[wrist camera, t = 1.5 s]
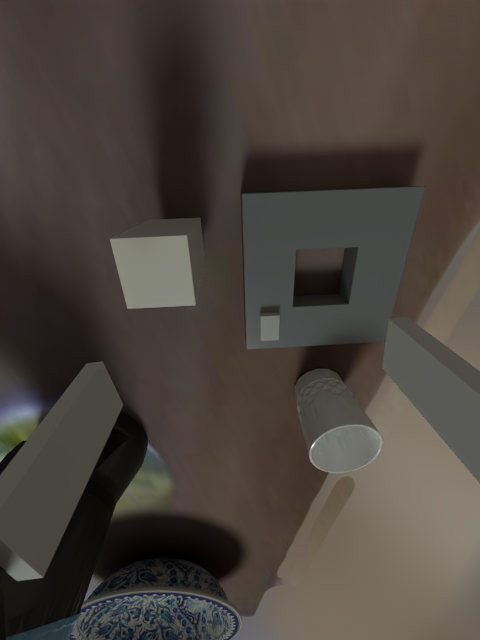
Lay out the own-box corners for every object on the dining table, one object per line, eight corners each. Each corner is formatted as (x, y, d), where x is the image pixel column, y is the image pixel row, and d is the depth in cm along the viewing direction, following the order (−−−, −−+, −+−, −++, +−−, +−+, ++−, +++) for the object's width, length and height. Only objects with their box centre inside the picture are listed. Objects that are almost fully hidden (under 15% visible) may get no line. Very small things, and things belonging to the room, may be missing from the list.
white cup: (287, 369, 36) (307, 430, 27) (346, 359, 35) (386, 419, 26) (291, 410, 39) (310, 477, 30) (345, 402, 39) (379, 468, 30)
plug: (165, 261, 28) (127, 308, 18) (157, 215, 26) (109, 238, 15) (207, 259, 28) (195, 305, 18) (203, 214, 26) (187, 235, 16)
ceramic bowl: (266, 547, 58) (273, 612, 49) (205, 605, 72) (201, 665, 63) (107, 515, 50) (81, 587, 41) (72, 588, 63) (47, 655, 54)
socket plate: (244, 335, 33) (247, 353, 29) (240, 192, 25) (242, 194, 22) (372, 329, 33) (388, 345, 30) (404, 185, 26) (431, 186, 22)
